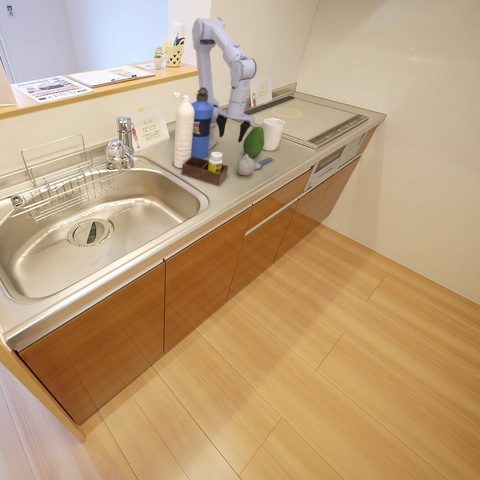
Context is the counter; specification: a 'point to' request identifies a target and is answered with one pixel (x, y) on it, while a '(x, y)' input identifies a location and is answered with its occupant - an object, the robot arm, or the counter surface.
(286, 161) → the counter surface
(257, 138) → the fruit
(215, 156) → the supplement bottle
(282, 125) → the mug
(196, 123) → the water bottle
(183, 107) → the water bottle
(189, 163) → the crate
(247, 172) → the figurine
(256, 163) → the wristwatch
